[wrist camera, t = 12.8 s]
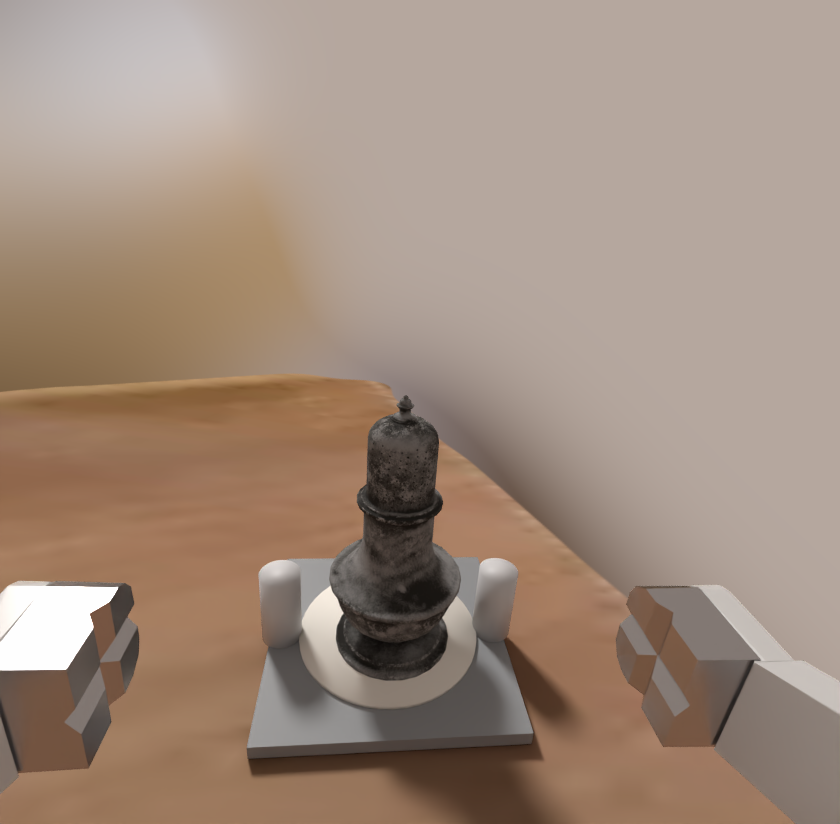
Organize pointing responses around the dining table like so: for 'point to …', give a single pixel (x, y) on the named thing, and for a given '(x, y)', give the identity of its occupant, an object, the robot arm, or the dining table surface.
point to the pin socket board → (378, 699)
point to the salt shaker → (396, 557)
